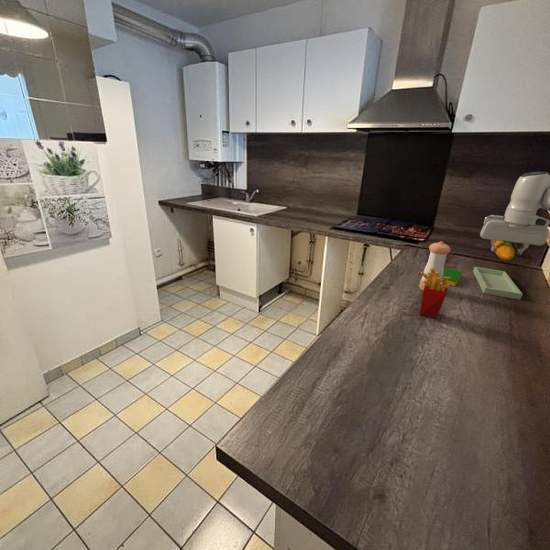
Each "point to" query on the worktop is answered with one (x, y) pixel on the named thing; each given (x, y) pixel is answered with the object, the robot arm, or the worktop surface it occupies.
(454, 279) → the dish sponge
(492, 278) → the tray
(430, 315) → the french fries
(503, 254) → the corn
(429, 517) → the worktop surface
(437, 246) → the pepper shaker
